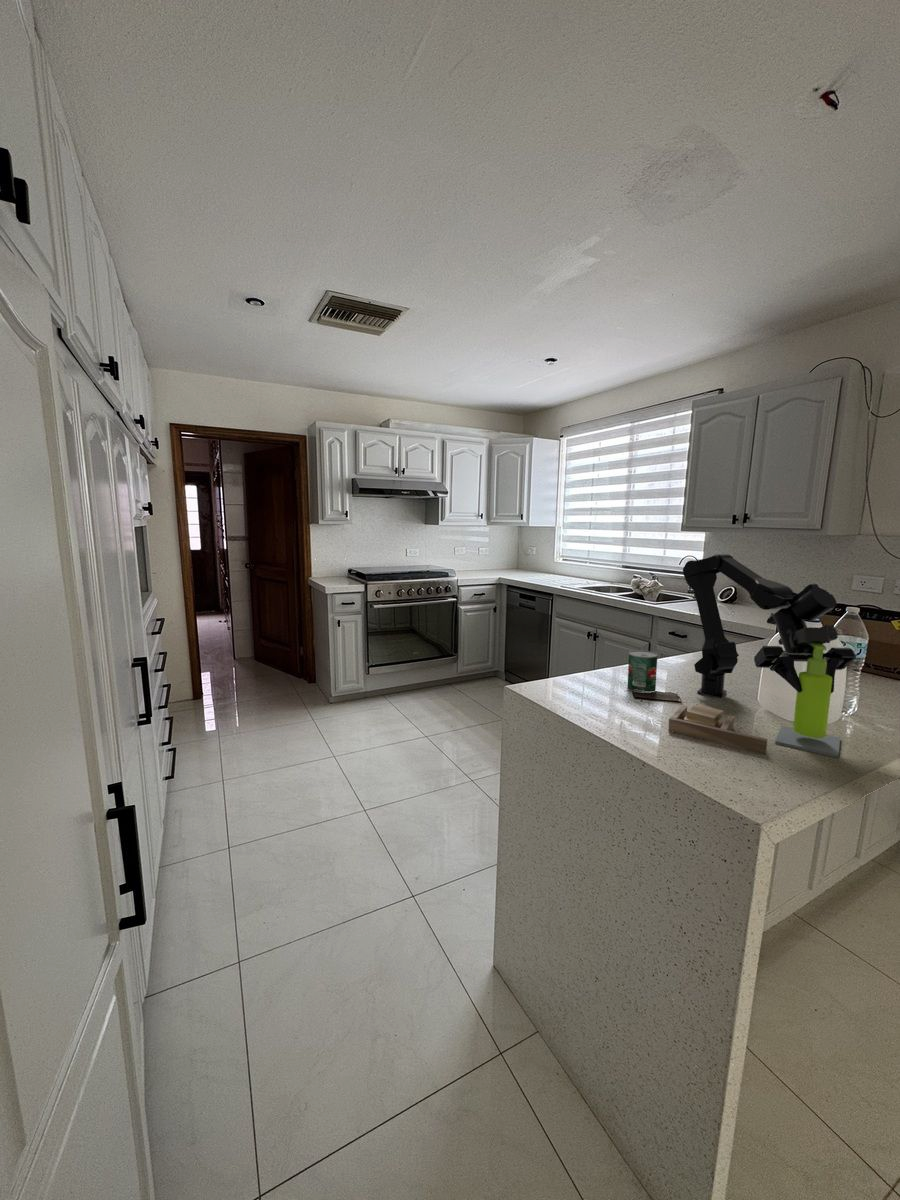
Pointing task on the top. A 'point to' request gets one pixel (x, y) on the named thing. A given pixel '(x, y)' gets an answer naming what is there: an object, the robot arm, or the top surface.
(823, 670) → the soap dispenser
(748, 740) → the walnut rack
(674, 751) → the top surface
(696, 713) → the offcut stack
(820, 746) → the slate mat
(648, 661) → the canned tomato
